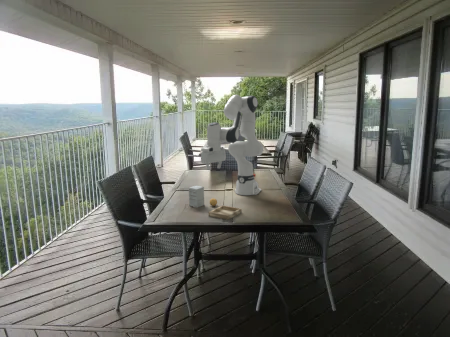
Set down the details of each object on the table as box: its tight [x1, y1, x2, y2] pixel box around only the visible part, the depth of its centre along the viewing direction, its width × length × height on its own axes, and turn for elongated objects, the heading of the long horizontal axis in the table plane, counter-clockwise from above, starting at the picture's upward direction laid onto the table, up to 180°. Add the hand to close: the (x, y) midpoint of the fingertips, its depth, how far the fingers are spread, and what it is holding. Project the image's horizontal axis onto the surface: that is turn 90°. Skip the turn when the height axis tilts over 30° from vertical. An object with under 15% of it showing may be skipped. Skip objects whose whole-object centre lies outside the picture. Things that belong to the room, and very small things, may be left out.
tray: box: [207, 204, 243, 221], centre depth 215 cm, size 16×14×2 cm
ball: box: [209, 197, 218, 207], centre depth 232 cm, size 5×5×5 cm
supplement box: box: [188, 185, 205, 208], centre depth 232 cm, size 7×7×13 cm
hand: (213, 169), depth 229 cm, fingers open, 8 cm apart
